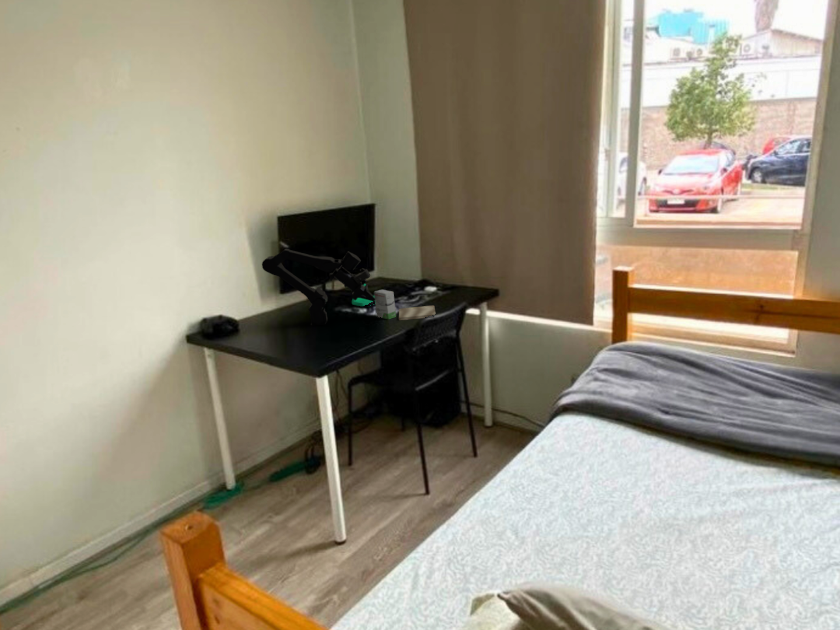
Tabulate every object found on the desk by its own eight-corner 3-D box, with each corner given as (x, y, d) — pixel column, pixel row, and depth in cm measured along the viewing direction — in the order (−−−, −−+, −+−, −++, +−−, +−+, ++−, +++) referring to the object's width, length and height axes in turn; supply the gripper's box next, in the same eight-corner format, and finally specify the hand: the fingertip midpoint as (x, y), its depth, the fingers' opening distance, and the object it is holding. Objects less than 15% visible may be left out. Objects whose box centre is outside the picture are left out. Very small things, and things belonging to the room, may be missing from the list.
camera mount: (362, 308, 268) (359, 287, 265) (352, 306, 274) (349, 286, 271) (381, 302, 276) (378, 281, 273) (370, 300, 282) (368, 280, 279)
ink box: (397, 316, 249) (394, 291, 246) (388, 319, 246) (385, 293, 243) (384, 313, 255) (381, 288, 252) (376, 316, 252) (373, 291, 249)
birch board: (399, 320, 244) (398, 317, 243) (399, 311, 257) (399, 308, 257) (435, 316, 244) (435, 314, 243) (434, 307, 257) (434, 305, 257)
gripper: (356, 268, 234) (385, 291, 238) (359, 260, 252) (386, 281, 255) (339, 289, 237) (369, 311, 240) (344, 279, 255) (371, 300, 258)
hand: (374, 300), depth 248 cm, fingers closed
